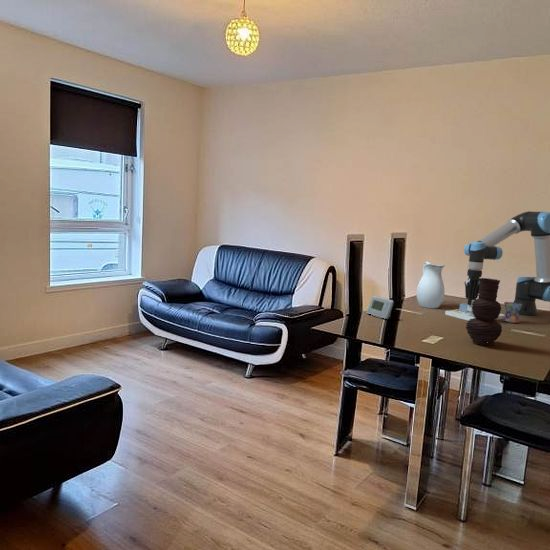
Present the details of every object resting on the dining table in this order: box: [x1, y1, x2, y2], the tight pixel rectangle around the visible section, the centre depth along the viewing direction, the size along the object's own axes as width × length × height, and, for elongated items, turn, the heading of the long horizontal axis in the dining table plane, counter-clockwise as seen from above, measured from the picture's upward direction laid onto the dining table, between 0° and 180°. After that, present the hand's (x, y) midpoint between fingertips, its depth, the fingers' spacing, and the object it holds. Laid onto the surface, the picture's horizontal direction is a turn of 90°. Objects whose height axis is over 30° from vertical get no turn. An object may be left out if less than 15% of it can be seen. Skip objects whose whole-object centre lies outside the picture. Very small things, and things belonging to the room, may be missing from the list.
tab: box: [458, 302, 469, 312], centre depth 291 cm, size 4×5×5 cm
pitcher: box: [415, 261, 446, 309], centre depth 313 cm, size 24×17×28 cm
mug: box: [502, 301, 522, 324], centre depth 280 cm, size 12×9×11 cm
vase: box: [465, 277, 503, 346], centre depth 225 cm, size 15×15×30 cm
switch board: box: [444, 308, 505, 322], centre depth 289 cm, size 30×20×3 cm, turn 122°
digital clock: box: [366, 295, 395, 320], centre depth 271 cm, size 16×9×11 cm, turn 21°
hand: (469, 310), depth 277 cm, fingers closed
